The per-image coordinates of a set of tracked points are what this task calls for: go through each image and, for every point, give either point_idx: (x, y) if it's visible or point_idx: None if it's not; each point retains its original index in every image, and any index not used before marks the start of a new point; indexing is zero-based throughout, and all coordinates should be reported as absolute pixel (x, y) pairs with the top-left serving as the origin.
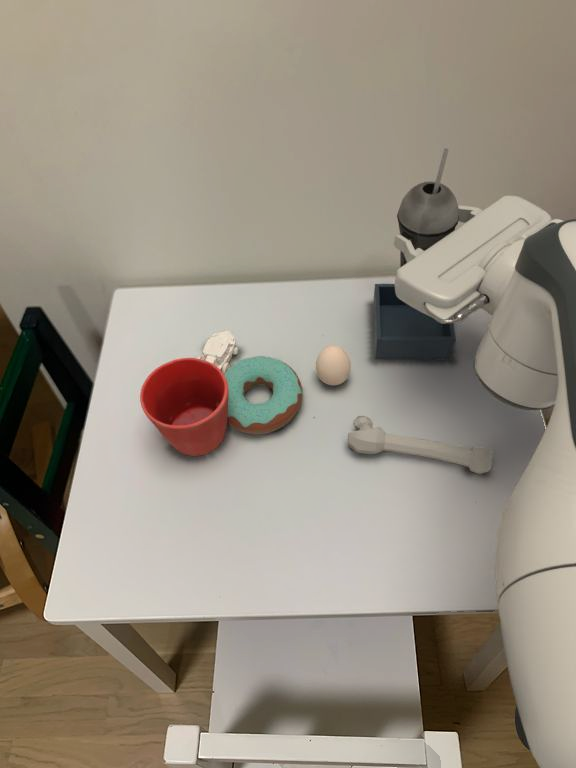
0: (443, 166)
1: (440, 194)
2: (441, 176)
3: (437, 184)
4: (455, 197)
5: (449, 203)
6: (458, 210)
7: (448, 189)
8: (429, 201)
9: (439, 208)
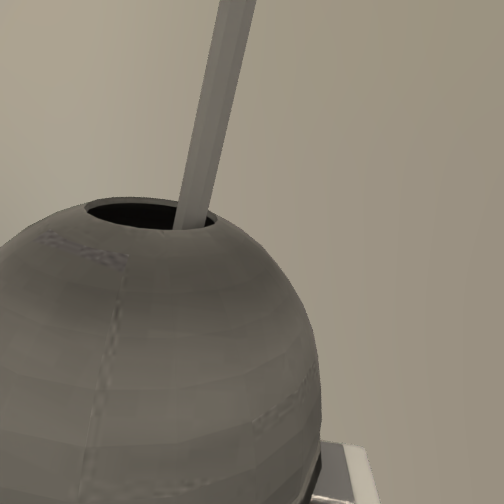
0: (224, 38)
1: (123, 236)
2: (208, 133)
3: (180, 191)
4: (287, 381)
5: (120, 339)
6: (251, 501)
7: (249, 279)
8: (29, 235)
9: (5, 310)
